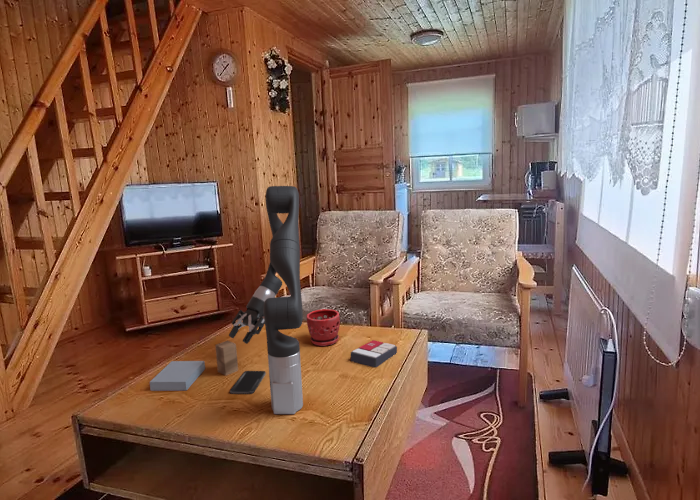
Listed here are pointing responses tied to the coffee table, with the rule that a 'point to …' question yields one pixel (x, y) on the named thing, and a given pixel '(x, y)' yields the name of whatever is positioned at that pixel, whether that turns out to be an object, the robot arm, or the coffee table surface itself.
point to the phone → (247, 382)
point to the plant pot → (323, 327)
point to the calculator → (373, 353)
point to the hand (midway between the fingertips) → (237, 339)
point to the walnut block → (226, 357)
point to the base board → (177, 376)
